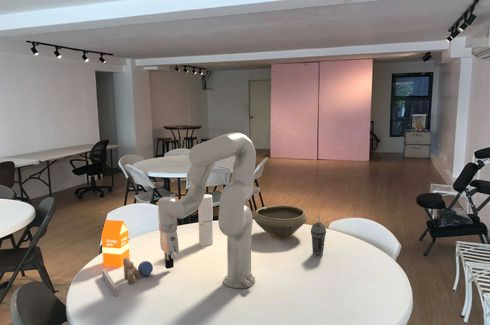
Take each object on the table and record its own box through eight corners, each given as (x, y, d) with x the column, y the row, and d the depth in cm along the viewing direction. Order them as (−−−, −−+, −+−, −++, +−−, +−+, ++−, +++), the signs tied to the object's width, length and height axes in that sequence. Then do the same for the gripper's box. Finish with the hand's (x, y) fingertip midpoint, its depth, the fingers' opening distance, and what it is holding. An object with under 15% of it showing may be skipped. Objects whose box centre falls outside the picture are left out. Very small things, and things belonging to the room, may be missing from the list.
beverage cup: (324, 251, 188) (325, 211, 185) (326, 257, 181) (327, 216, 178) (309, 251, 189) (310, 211, 186) (310, 257, 181) (311, 215, 178)
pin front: (142, 275, 160) (130, 261, 156) (137, 280, 159) (125, 265, 156) (140, 273, 162) (129, 259, 159) (135, 277, 161) (123, 263, 158)
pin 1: (131, 278, 160) (130, 259, 159) (125, 280, 159) (124, 260, 158) (129, 276, 162) (128, 257, 161) (123, 278, 161) (122, 258, 160)
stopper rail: (117, 295, 146) (117, 288, 146) (114, 296, 146) (114, 288, 145) (105, 275, 163) (105, 268, 163) (102, 276, 162) (102, 269, 162)
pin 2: (135, 283, 156) (133, 263, 155) (128, 285, 155) (127, 264, 153) (133, 281, 158) (132, 261, 157) (127, 282, 157) (125, 262, 155)
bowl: (313, 233, 215) (314, 208, 213) (292, 249, 192) (293, 222, 190) (269, 224, 230) (269, 201, 228) (244, 237, 207) (244, 212, 205)
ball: (136, 273, 158) (148, 280, 161) (144, 260, 160) (156, 267, 162) (134, 269, 164) (146, 275, 166) (142, 256, 165) (154, 263, 167)
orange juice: (121, 267, 172) (118, 223, 168) (103, 265, 173) (100, 222, 170) (130, 260, 179) (127, 218, 176) (112, 258, 181) (110, 217, 178)
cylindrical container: (212, 246, 196) (211, 197, 192) (198, 245, 196) (197, 197, 193) (213, 241, 203) (212, 194, 199) (200, 241, 203) (199, 194, 200)
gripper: (183, 229, 160) (184, 271, 163) (169, 220, 173) (171, 259, 176) (165, 233, 156) (167, 276, 159) (153, 223, 169) (155, 263, 172)
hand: (169, 267), depth 167 cm, fingers closed
